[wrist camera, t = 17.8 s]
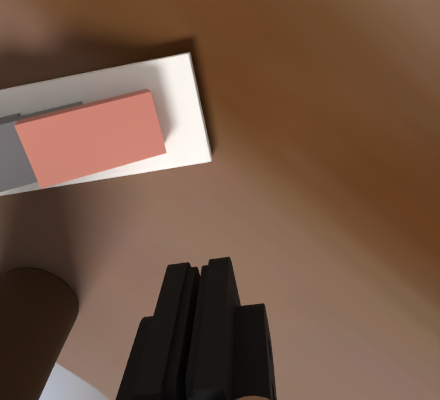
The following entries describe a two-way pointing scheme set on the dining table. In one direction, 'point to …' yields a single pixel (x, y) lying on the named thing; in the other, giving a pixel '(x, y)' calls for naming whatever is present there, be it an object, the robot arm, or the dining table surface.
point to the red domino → (91, 137)
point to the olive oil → (32, 330)
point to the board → (118, 85)
